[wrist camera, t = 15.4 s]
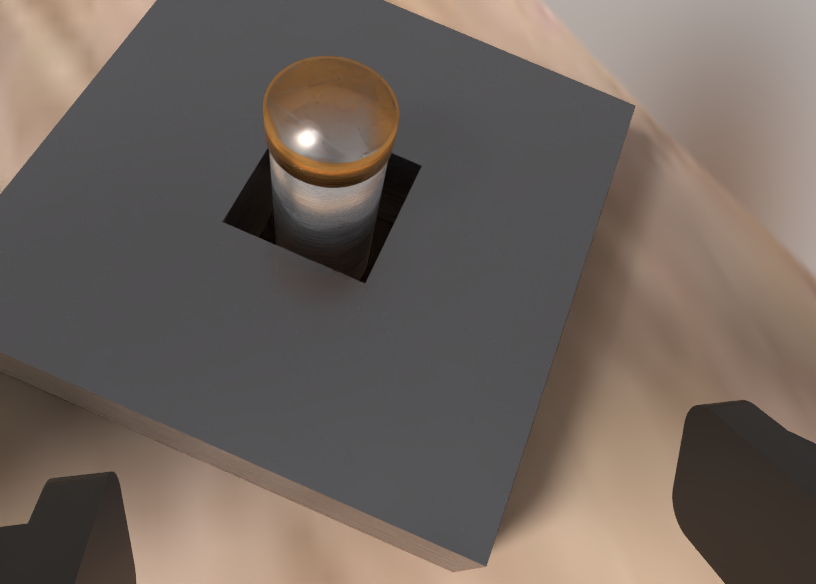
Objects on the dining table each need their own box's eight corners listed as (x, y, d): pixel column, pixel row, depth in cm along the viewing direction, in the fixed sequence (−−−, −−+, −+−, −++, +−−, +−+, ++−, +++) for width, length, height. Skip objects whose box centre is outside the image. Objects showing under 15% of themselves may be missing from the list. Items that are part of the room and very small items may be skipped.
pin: (257, 274, 30) (237, 132, 21) (299, 198, 32) (299, 37, 22) (347, 313, 30) (367, 187, 21) (384, 235, 31) (418, 87, 22)
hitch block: (-27, 359, 27) (-93, 310, 22) (224, 16, 35) (213, -71, 31) (453, 572, 26) (486, 566, 22) (591, 170, 35) (635, 105, 30)
